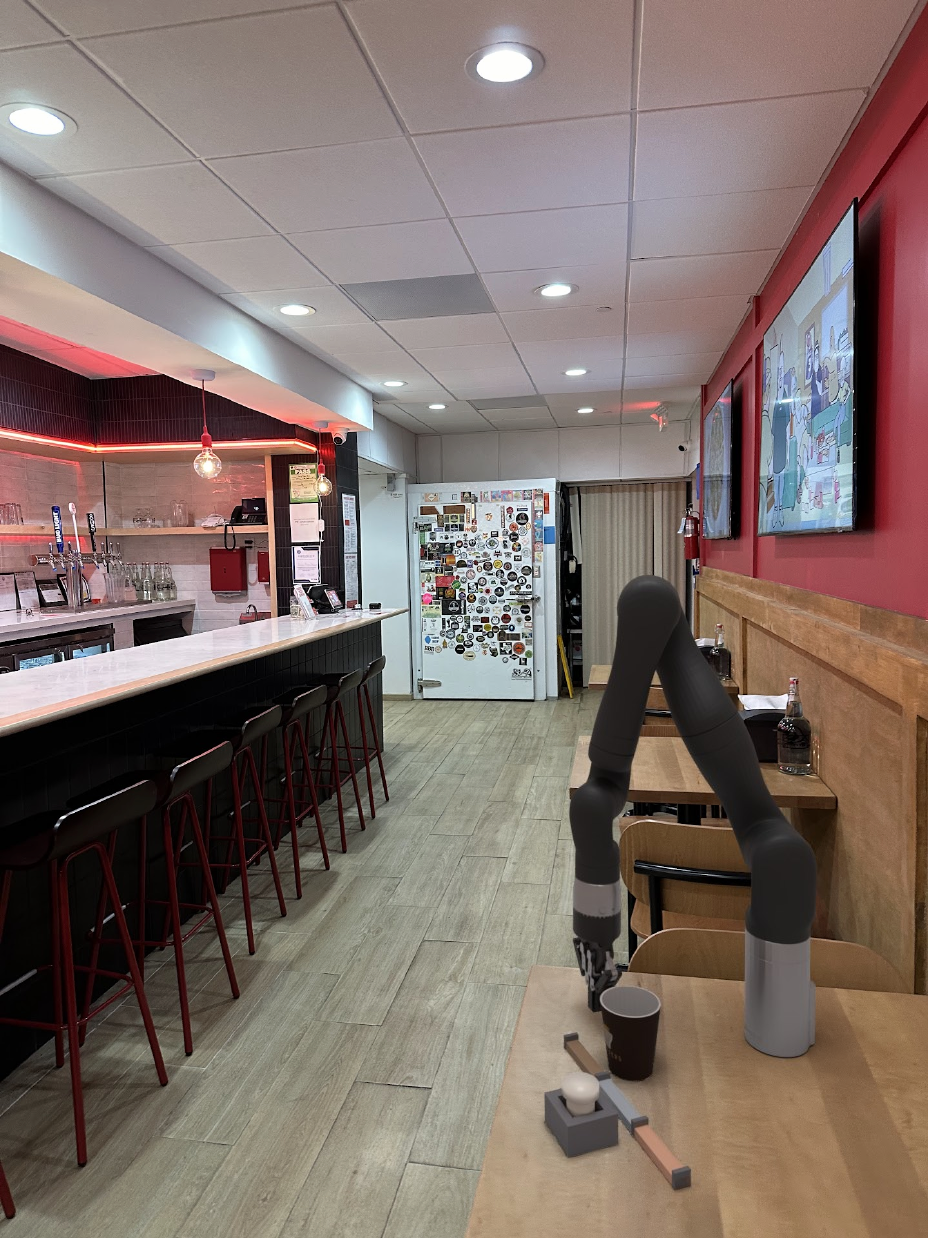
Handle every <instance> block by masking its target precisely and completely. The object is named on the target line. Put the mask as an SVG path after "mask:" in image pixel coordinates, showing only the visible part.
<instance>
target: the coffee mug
mask: <svg viewBox="0 0 928 1238" xmlns="http://www.w3.org/2000/svg"><path fill="white" fill-rule="evenodd" d="M661 1003H662V1001H661V999H660V998H659V996H657V995H656V994H655V993H654V992H653V991H650V990H649V989H647V988H643V987H640V986H639V987H638V986H636V985H615V987H607V990H605V991H604V992H603V993H602V994H601V996H600V1004H601V1019H602V1028H603V1034H604V1035H603V1036H604V1042H605V1043H604V1044H605V1050H606V1059H607V1067H608V1069H609V1071H610V1073H611V1074H612V1075H613V1076H615V1077H617V1078H619V1079H621V1080H622V1081H623V1080H624V1081H628V1082H640V1081H644V1080H647V1079H648V1078H650V1077H651V1076H652V1074H653V1072H654V1064H655V1058H656V1057H655V1056H656V1051H657V1049H656V1047H657V1041H658V1033H659V1032H658V1031H659V1026H660V1025H659V1023H660V1014H661V1007H662V1004H661Z"/></svg>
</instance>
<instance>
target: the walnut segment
mask: <svg viewBox="0 0 928 1238" xmlns="http://www.w3.org/2000/svg"><path fill="white" fill-rule="evenodd" d="M563 1049H564V1050H565V1051H566V1052H567V1053H568V1054H569V1056H570V1057H571V1058H572V1059H573V1061H574V1062H575V1063H576V1064H577V1066H578V1067H579V1069H580V1070H581V1072H585V1073H588V1074H591V1075H593V1076H594V1077H595V1074H596V1073H600V1072H604V1071H605V1070H603V1068H602V1067H601V1065H599V1063H598V1062H597V1061H596V1060H595V1058H594V1057H593V1055H591V1053H590V1052H589V1051H588V1049H586V1047H585V1046H584V1045H583V1044H582V1042H580V1040H579V1033H578V1032H576V1031H575V1032H572V1033H567V1034H563Z"/></svg>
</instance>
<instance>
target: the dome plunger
mask: <svg viewBox="0 0 928 1238" xmlns="http://www.w3.org/2000/svg"><path fill="white" fill-rule="evenodd" d="M561 1088H562V1095H563V1097H564V1098H565V1099H566V1106H567V1110H568V1112H569V1113H570V1115H571V1116H572V1118H574V1117H578V1116H581V1115H585V1114H589V1113H593V1112H595V1101H596V1100H597V1099H598V1097H599V1082H598V1080H597V1079H596V1078H595V1077H594V1076H593V1075H591V1074H588V1073H585V1072H583V1071H573V1072H569V1073H567V1074H565V1075H564V1076H563V1077H562V1079H561Z"/></svg>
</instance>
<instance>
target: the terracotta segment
mask: <svg viewBox="0 0 928 1238" xmlns="http://www.w3.org/2000/svg"><path fill="white" fill-rule="evenodd" d="M649 1118H650V1117H648V1115H643V1116H642V1115H641V1117H638V1118H634V1119H631V1132H630V1135H631V1136H632V1137H633V1138H634V1139H635V1140H636V1141H637V1143H638V1144H639V1145H640V1147H641V1148H642V1149H643V1150H644V1152H645V1153H646V1154H647V1155H648V1157H649V1158H650V1159H651V1161H652V1162H653V1163H654V1164H655V1166H656V1167H657V1168H658V1170H659V1171H660V1173H662V1174H663V1176H664V1178H665V1179H666V1180H667V1182H668V1183H669V1184H670V1185H671V1187H672V1189H673V1190H674V1191H677V1190H679V1189H683V1188H686V1187H690V1186H691V1185H692V1169H691V1167H690V1166H689V1165H686V1166H683V1165H682V1164H681V1163H680V1162H679V1160H678V1159H677V1158H676V1157H675V1156H674V1154H672V1152H671V1151H670V1150H669V1148H668V1147H667V1146H666V1144H665V1143H664V1142H663V1141H662V1140H661V1138H660V1137H659V1136H658V1135H657V1133H655V1131H654V1130H653V1128H652V1127H651V1126H650V1125H649V1122H650V1121H649Z"/></svg>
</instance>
